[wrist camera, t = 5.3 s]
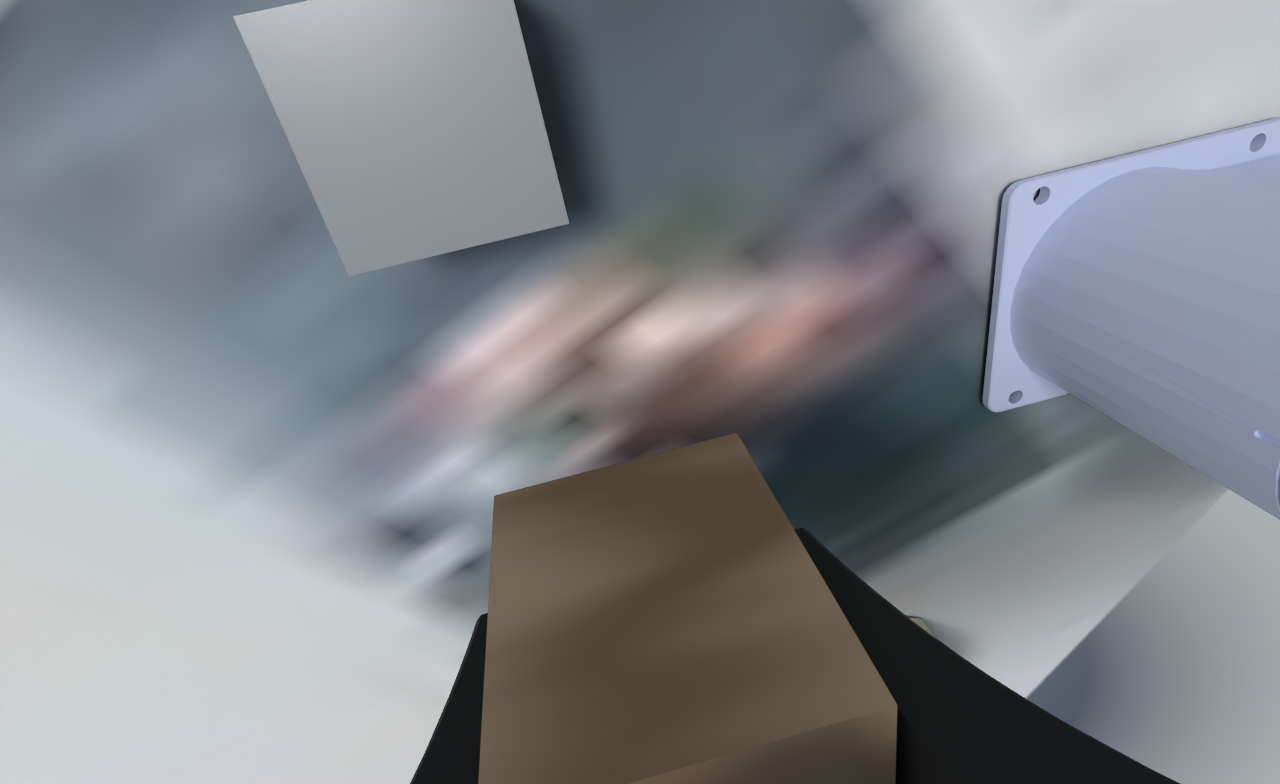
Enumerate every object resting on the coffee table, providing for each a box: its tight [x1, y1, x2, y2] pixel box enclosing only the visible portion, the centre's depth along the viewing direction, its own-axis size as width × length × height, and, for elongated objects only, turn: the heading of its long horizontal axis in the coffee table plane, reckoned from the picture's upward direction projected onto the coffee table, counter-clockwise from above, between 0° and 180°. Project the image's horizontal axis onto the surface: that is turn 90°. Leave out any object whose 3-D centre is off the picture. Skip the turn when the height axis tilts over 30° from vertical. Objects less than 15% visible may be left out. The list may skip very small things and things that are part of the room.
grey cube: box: [233, 0, 569, 276], centre depth 13 cm, size 4×4×4 cm
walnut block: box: [478, 433, 897, 784], centre depth 10 cm, size 4×4×6 cm
